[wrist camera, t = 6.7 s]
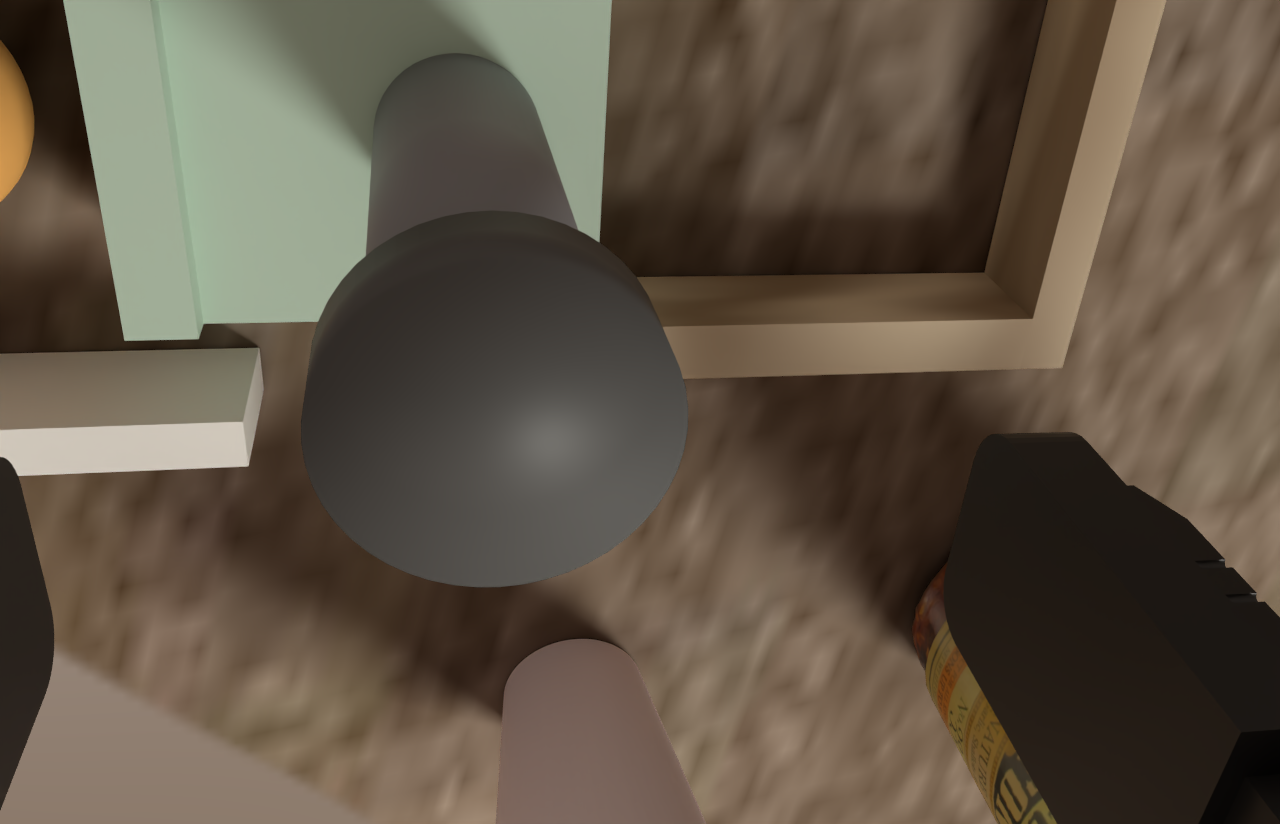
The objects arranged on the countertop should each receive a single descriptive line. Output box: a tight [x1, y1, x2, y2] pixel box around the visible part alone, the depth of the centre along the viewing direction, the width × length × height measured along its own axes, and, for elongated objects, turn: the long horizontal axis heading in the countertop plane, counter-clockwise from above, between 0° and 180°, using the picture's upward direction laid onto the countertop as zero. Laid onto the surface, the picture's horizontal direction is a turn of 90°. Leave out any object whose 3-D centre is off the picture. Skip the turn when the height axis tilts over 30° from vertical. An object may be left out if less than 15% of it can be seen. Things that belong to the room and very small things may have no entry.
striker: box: [63, 0, 688, 587], centre depth 16 cm, size 8×7×13 cm
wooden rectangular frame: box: [637, 0, 1166, 379], centre depth 22 cm, size 14×10×2 cm
